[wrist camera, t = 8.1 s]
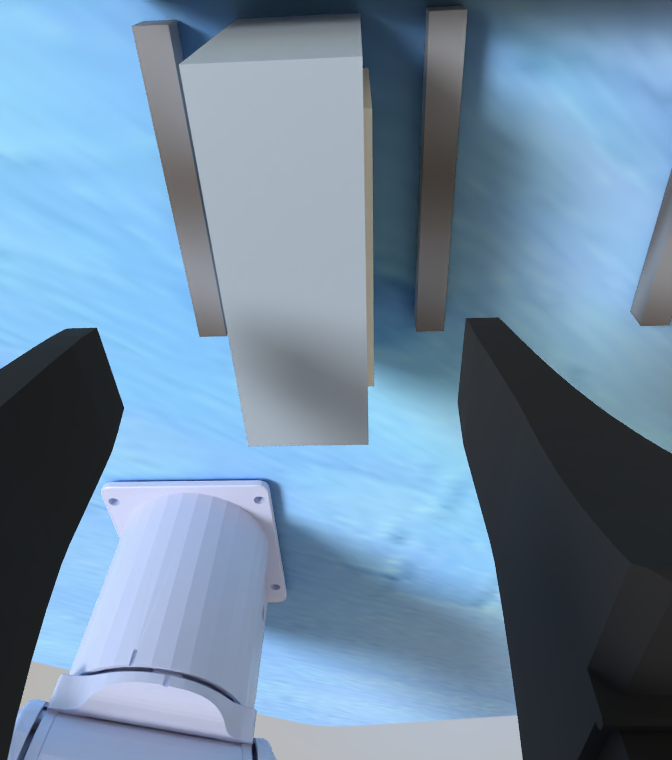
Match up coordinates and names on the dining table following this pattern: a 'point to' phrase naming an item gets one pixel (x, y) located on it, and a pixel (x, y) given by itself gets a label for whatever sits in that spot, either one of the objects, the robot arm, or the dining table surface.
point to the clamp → (436, 180)
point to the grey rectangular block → (290, 219)
